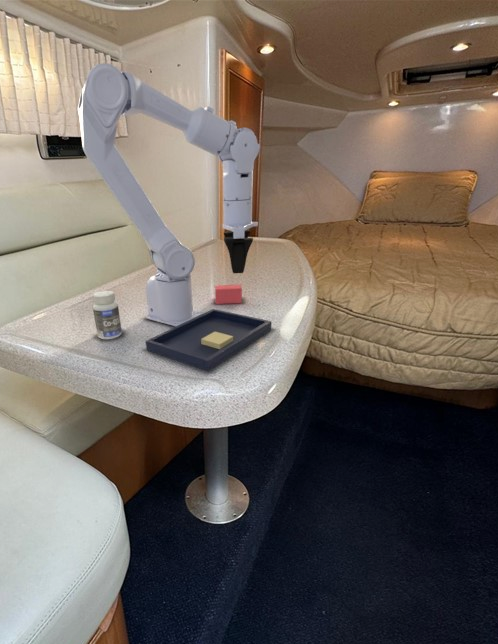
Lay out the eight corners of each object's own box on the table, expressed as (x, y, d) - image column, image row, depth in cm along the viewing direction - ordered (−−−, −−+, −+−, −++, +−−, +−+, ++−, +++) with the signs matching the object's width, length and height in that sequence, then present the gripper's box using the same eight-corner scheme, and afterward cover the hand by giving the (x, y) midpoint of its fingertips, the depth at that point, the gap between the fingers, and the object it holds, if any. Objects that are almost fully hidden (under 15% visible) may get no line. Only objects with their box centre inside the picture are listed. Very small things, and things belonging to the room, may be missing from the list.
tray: (146, 350, 64) (145, 340, 63) (213, 316, 77) (213, 308, 76) (208, 371, 55) (207, 361, 55) (271, 330, 68) (271, 321, 68)
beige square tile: (201, 344, 63) (200, 338, 63) (214, 336, 66) (214, 331, 65) (219, 349, 61) (219, 344, 60) (233, 341, 63) (233, 336, 63)
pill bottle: (107, 342, 68) (99, 299, 64) (93, 336, 71) (85, 294, 68) (127, 333, 71) (121, 292, 67) (112, 328, 74) (106, 288, 71)
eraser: (215, 304, 84) (215, 289, 83) (215, 299, 87) (215, 285, 86) (241, 303, 84) (241, 288, 82) (240, 298, 87) (240, 284, 85)
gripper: (261, 200, 65) (259, 276, 71) (255, 196, 78) (253, 260, 84) (222, 203, 65) (223, 277, 71) (222, 198, 78) (222, 261, 84)
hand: (237, 268), depth 78 cm, fingers open, 7 cm apart
